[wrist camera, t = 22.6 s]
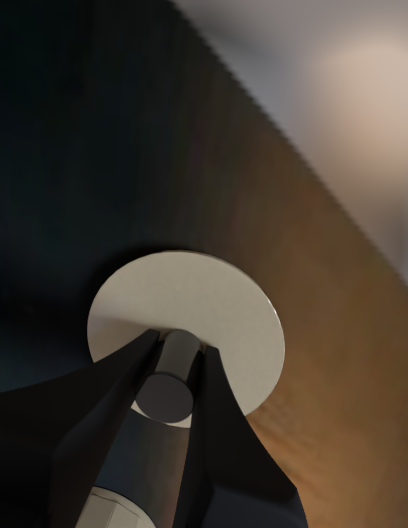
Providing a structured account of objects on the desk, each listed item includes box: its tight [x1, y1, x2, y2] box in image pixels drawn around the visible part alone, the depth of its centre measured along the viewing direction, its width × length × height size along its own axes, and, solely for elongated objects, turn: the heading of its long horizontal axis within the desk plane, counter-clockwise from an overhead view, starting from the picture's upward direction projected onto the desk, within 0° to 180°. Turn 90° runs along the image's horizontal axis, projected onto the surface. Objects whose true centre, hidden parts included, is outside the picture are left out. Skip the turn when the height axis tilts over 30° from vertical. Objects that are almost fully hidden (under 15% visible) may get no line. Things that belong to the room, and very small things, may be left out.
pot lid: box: [87, 250, 285, 428], centre depth 11 cm, size 11×11×4 cm
